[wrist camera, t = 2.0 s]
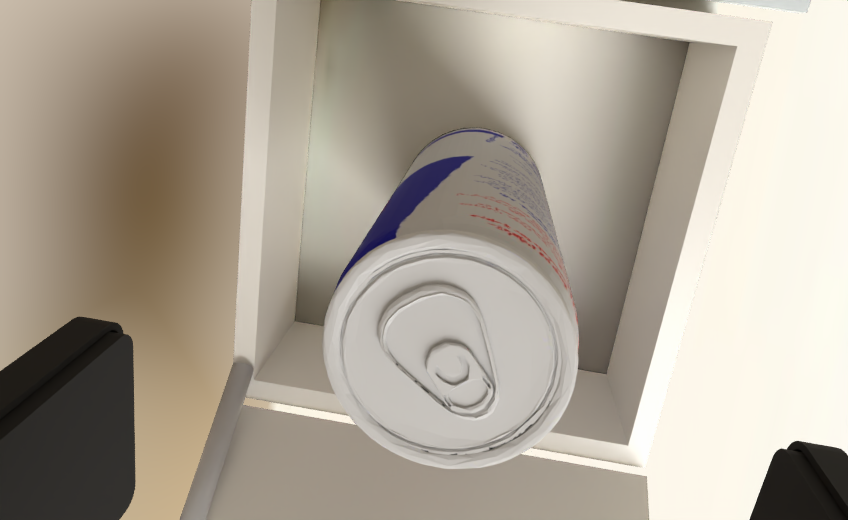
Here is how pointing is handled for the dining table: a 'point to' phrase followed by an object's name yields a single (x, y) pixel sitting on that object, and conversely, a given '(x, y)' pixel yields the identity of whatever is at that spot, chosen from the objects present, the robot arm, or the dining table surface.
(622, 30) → the case
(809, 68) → the dining table surface
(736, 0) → the mat
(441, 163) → the beverage can
